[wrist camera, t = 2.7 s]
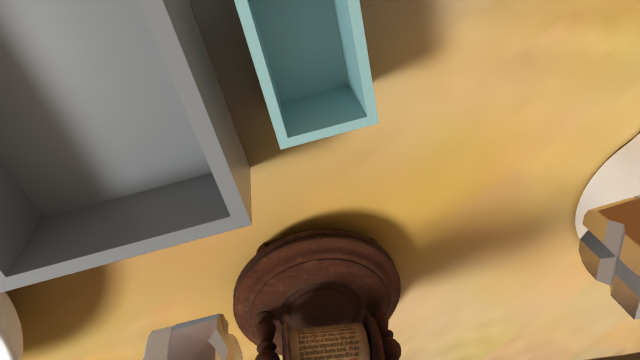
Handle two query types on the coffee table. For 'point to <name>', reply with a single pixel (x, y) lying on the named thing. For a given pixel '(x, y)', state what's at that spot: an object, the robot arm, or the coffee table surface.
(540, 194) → the coffee table surface
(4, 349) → the serving bowl
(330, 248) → the brown tall piece
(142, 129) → the big crate
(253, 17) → the small crate
